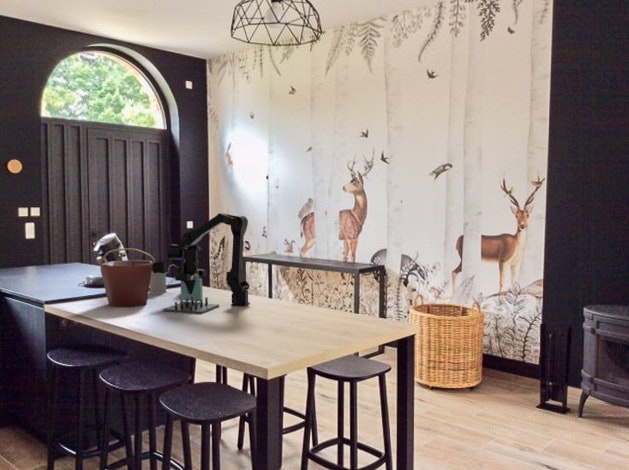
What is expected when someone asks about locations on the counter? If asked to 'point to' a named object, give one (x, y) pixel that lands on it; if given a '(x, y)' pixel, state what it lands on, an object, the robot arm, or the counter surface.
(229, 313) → the counter surface
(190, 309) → the dish rack
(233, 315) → the counter surface
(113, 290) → the bucket
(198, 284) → the teal plate
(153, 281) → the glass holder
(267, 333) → the counter surface
